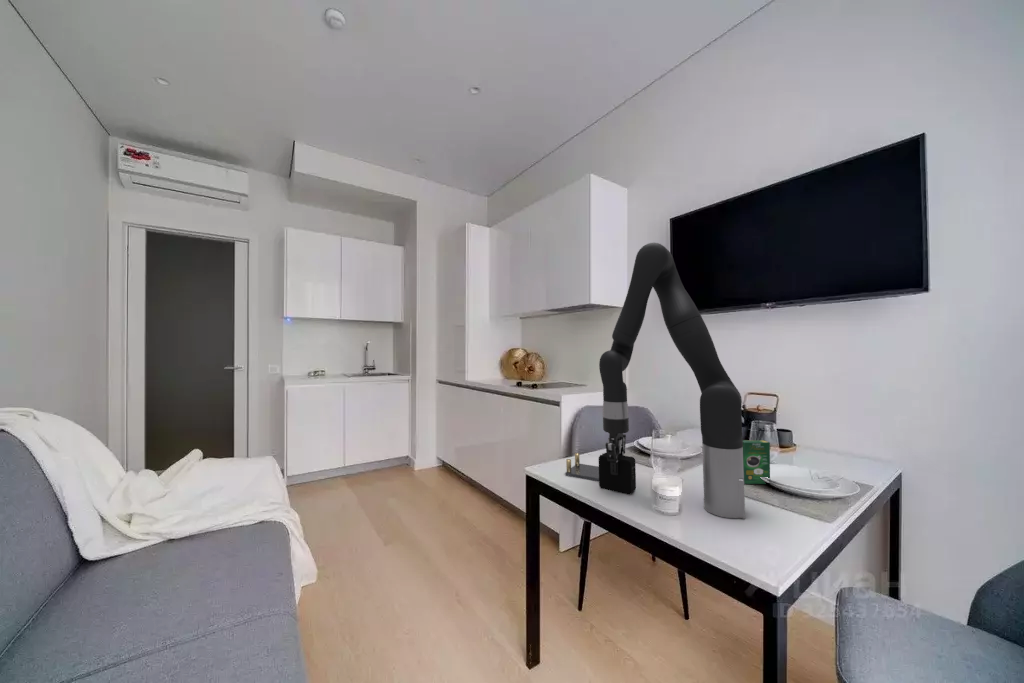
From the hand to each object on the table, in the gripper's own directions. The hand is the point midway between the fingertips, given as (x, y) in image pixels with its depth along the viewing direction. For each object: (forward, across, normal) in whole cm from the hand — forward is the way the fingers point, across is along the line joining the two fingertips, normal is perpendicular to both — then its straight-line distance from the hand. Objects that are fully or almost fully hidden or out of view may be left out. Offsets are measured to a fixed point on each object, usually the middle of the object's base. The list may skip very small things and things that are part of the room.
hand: (616, 471), depth 111 cm
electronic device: (+6, 0, 0) cm, 6 cm away
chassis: (+5, +9, +11) cm, 15 cm away
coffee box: (+5, +25, -36) cm, 44 cm away
